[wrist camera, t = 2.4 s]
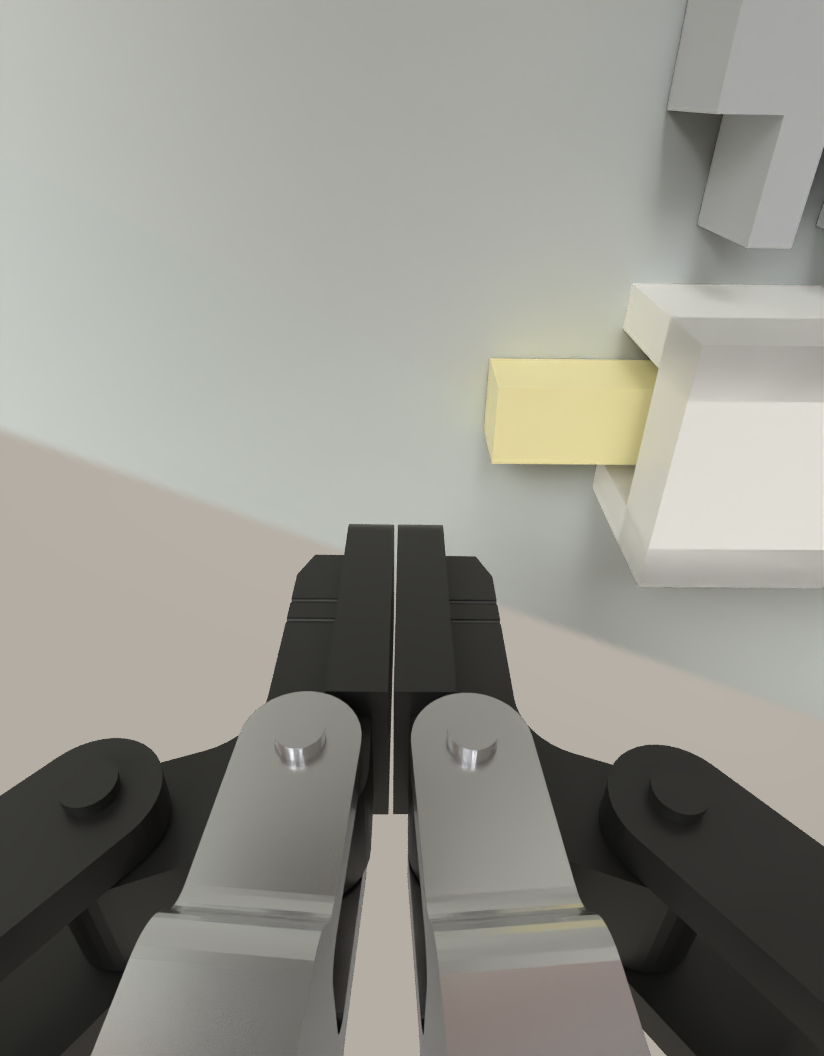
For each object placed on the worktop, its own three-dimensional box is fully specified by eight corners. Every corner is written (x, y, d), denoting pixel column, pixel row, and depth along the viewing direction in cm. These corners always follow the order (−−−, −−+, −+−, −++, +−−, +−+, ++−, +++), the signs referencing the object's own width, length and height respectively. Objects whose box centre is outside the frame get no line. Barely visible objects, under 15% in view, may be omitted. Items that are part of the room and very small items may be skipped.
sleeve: (631, 282, 14) (702, 345, 11) (990, 286, 14) (1177, 349, 11) (591, 486, 17) (638, 587, 14) (890, 488, 17) (1012, 589, 14)
